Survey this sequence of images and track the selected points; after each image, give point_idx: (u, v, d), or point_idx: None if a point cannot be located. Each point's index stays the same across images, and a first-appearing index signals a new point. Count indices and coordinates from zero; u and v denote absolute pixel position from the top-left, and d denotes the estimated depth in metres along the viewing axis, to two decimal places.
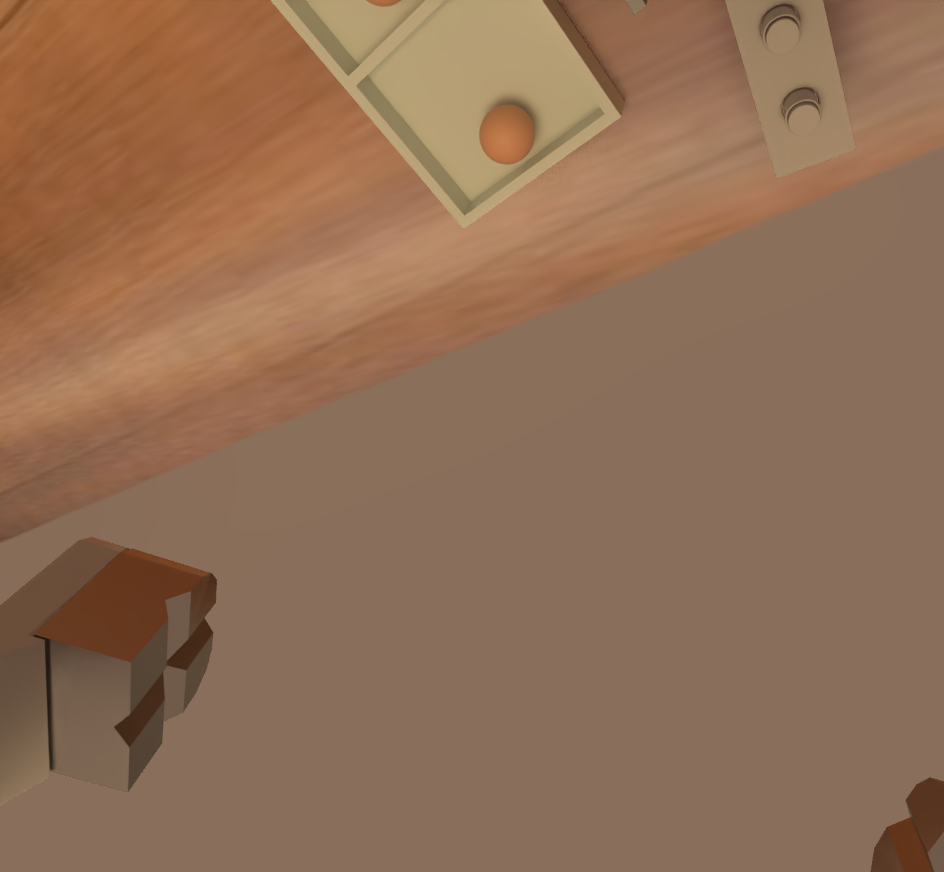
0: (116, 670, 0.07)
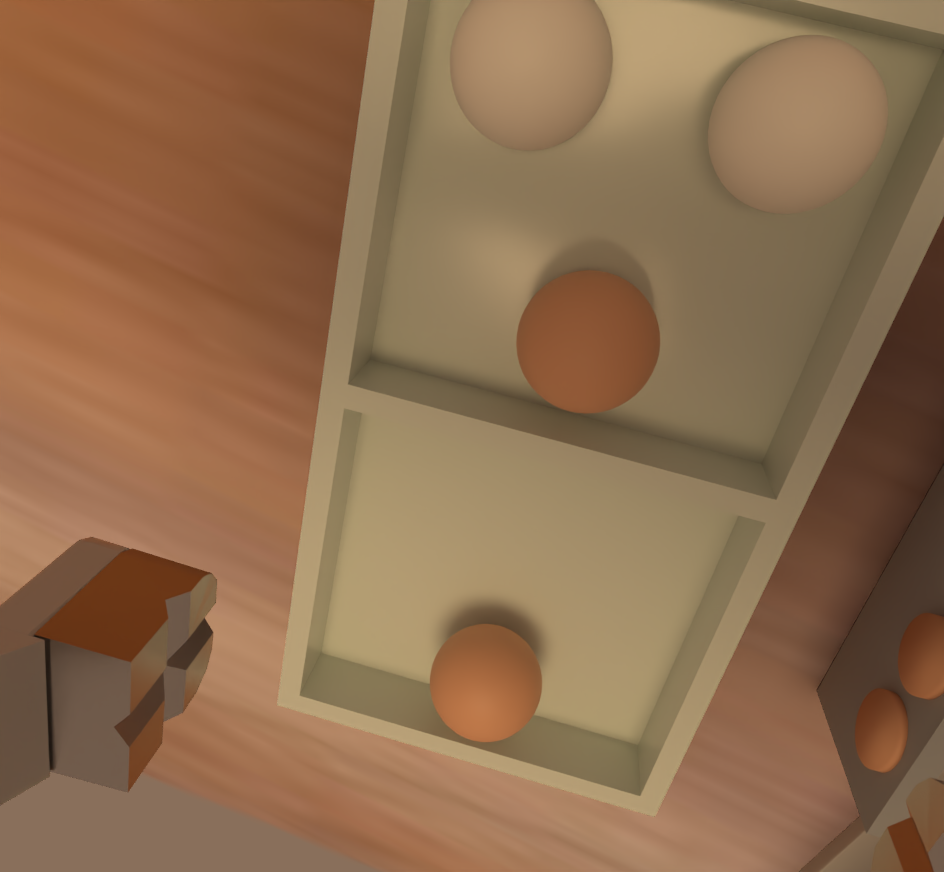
0: (116, 670, 0.07)
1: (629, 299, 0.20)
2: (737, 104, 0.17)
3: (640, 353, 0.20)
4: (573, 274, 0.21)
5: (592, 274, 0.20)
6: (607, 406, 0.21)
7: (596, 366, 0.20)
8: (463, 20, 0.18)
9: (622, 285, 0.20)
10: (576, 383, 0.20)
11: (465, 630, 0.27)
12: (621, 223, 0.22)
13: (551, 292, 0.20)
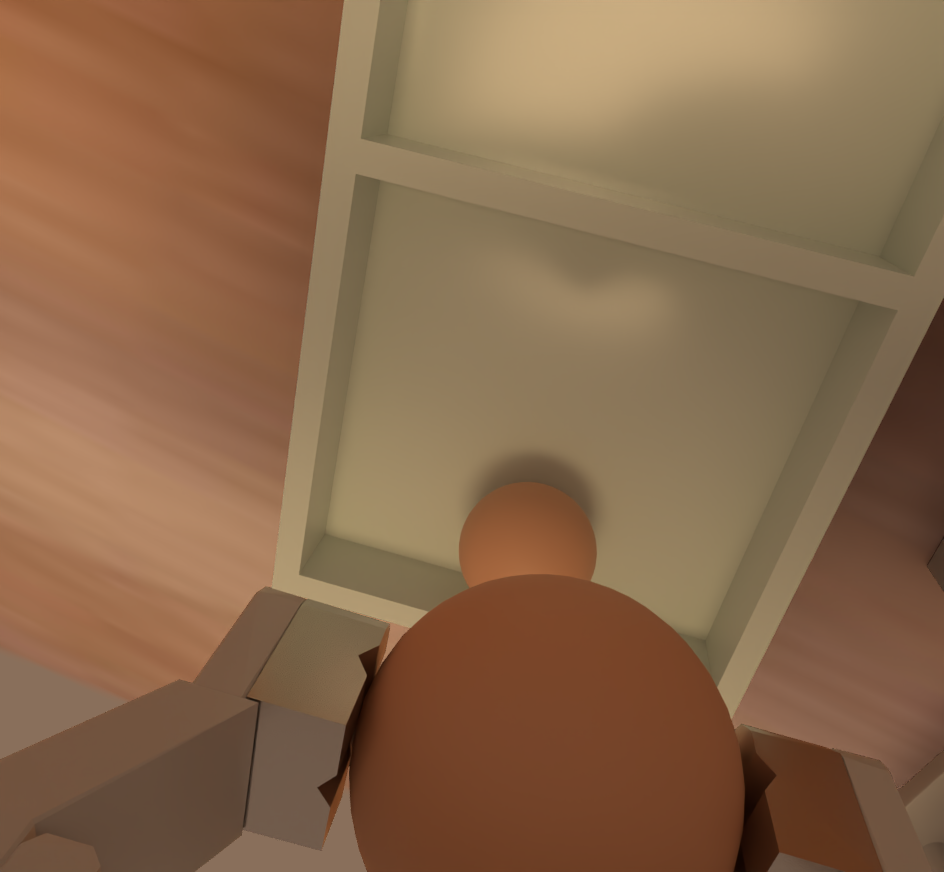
0: (328, 733, 0.07)
1: (662, 736, 0.06)
2: None
3: None
4: (497, 619, 0.07)
5: (551, 631, 0.07)
6: None
7: None
8: None
9: (640, 673, 0.07)
10: None
11: (502, 487, 0.22)
12: None
13: (429, 688, 0.07)
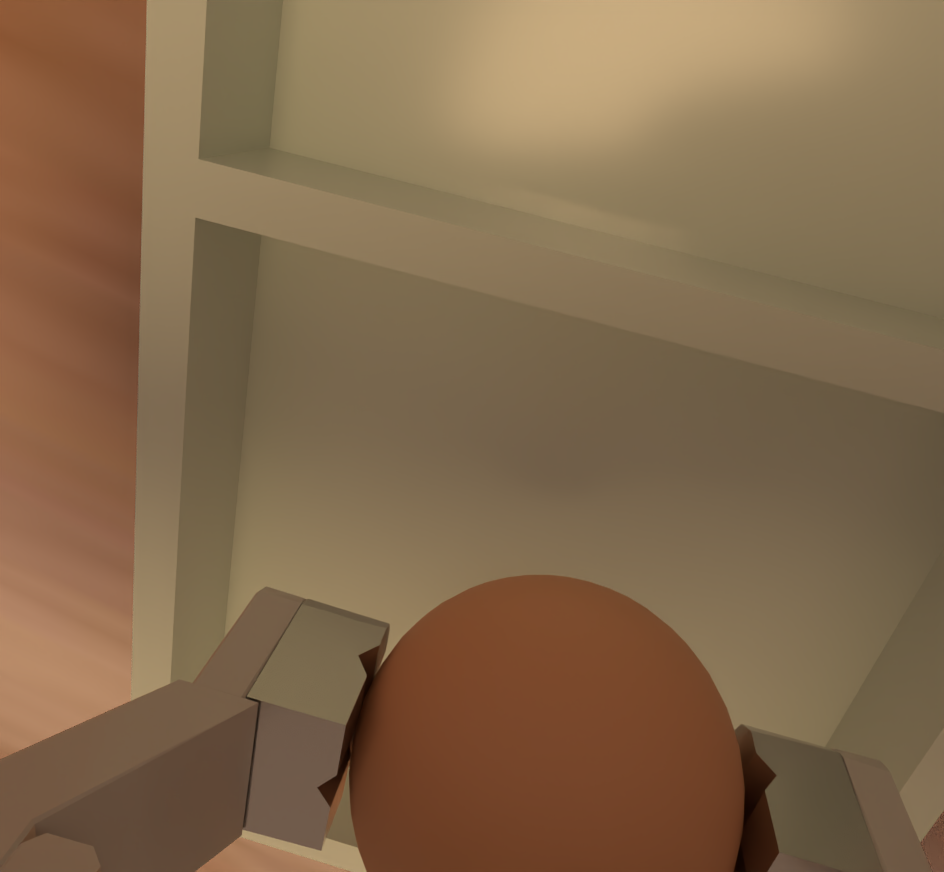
0: (328, 733, 0.07)
1: (662, 737, 0.06)
2: None
3: None
4: (497, 619, 0.07)
5: (550, 631, 0.07)
6: None
7: None
8: None
9: (640, 674, 0.07)
10: None
11: None
12: None
13: (429, 689, 0.07)
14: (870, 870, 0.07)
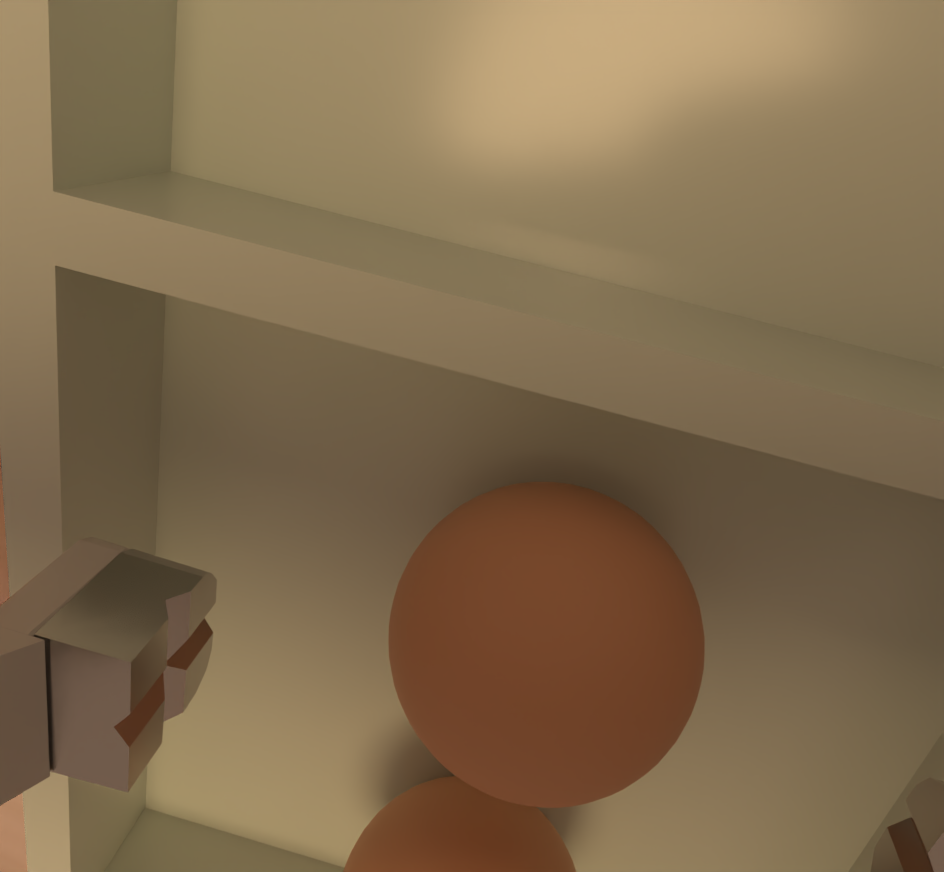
0: (116, 670, 0.07)
1: (629, 587, 0.08)
2: None
3: (652, 720, 0.08)
4: (508, 503, 0.09)
5: (549, 510, 0.09)
6: None
7: (541, 757, 0.08)
8: None
9: (616, 544, 0.09)
10: (497, 780, 0.08)
11: (414, 800, 0.12)
12: None
13: (452, 550, 0.09)
14: None
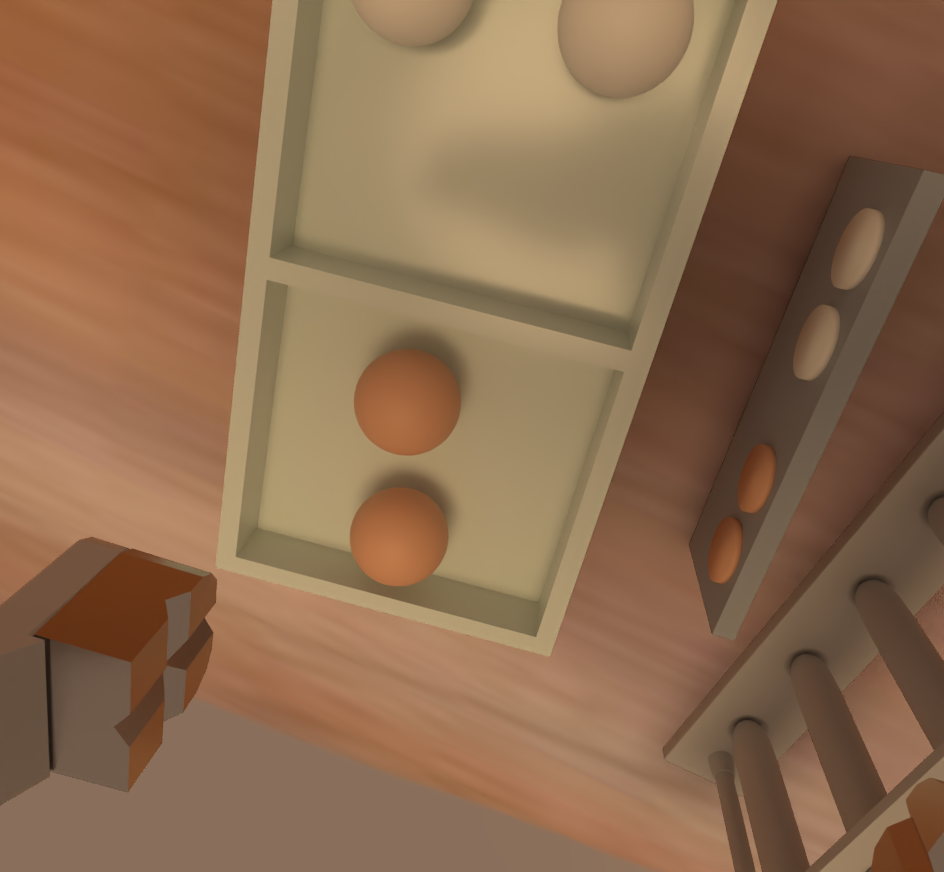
0: (116, 670, 0.07)
1: (417, 372, 0.27)
2: (573, 0, 0.22)
3: (417, 412, 0.27)
4: (396, 350, 0.28)
5: (405, 351, 0.28)
6: (402, 449, 0.28)
7: (382, 416, 0.27)
8: None
9: (420, 361, 0.27)
10: (372, 427, 0.27)
11: (380, 491, 0.31)
12: (499, 118, 0.26)
13: (374, 360, 0.28)
14: None
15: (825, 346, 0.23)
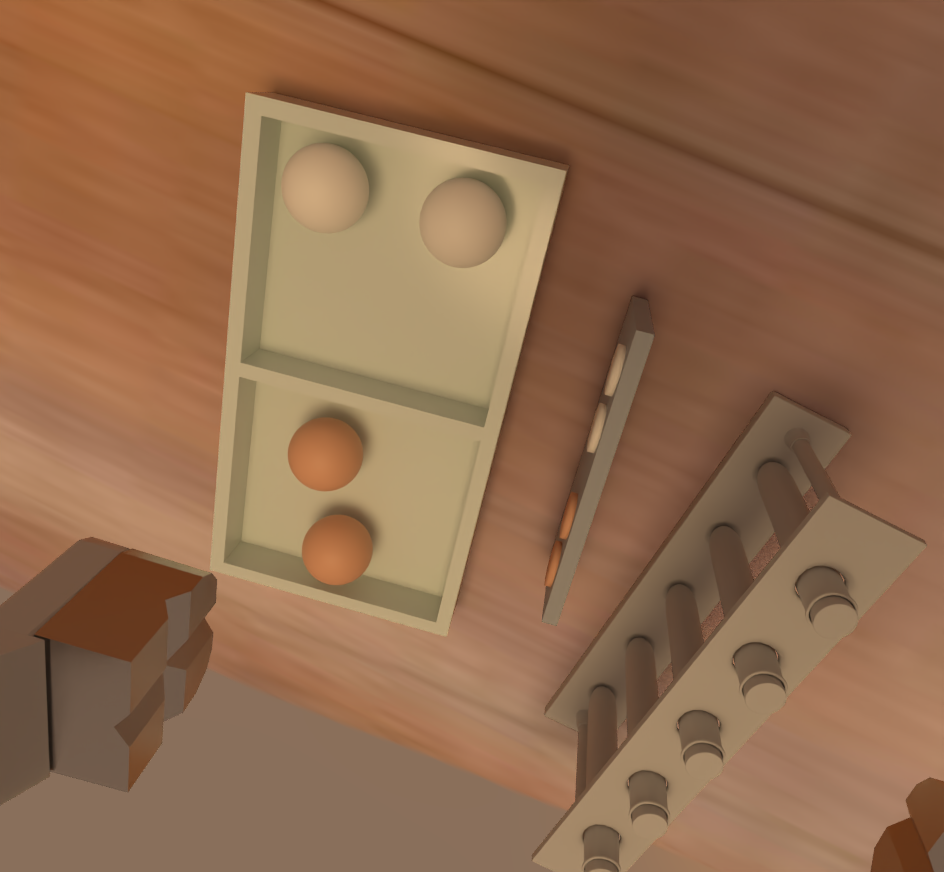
0: (116, 670, 0.07)
1: (321, 434, 0.39)
2: (424, 214, 0.34)
3: (313, 460, 0.39)
4: (321, 417, 0.41)
5: (323, 419, 0.40)
6: (309, 485, 0.40)
7: (294, 460, 0.39)
8: (284, 169, 0.34)
9: (327, 427, 0.40)
10: (291, 466, 0.40)
11: (324, 517, 0.43)
12: (394, 269, 0.38)
13: (306, 422, 0.41)
14: None
15: (595, 433, 0.35)
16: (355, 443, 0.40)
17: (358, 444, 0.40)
